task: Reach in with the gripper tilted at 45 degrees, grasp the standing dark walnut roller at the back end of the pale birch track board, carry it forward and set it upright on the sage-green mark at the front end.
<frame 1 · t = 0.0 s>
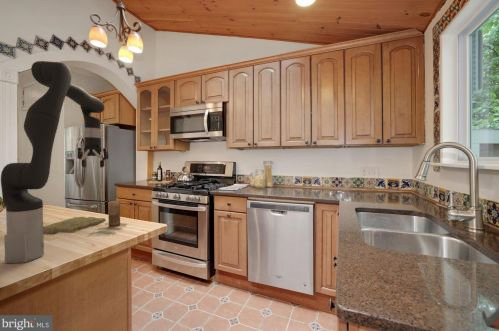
hand: (93, 167, 125), 29 cm above the countertop, tool pointing down, fingers open, 8 cm apart
decorative tile: (75, 228, 115), on the countertop
birch track board: (109, 231, 110), on the countertop
walnut roller: (114, 225, 116), point 1 cm above the countertop, touching birch track board
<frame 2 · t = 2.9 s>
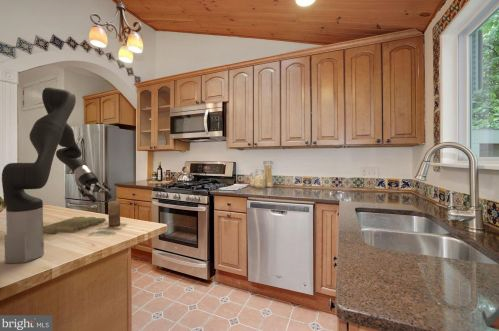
hand: (103, 200, 117), 13 cm above the countertop, tool tilted 45°, fingers open, 8 cm apart
nothing on the countertop moved.
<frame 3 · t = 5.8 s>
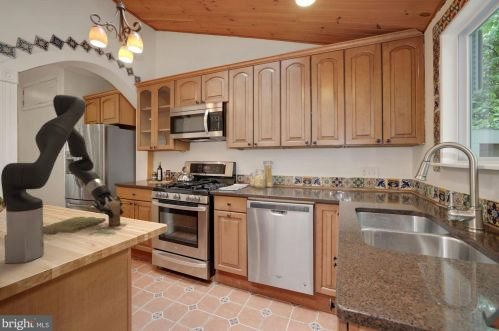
hand: (117, 215, 115), 6 cm above the countertop, tool tilted 45°, fingers closed on walnut roller, 5 cm apart
walnut roller: (114, 225, 116), point 1 cm above the countertop, touching birch track board, gripper
everything else where it was.
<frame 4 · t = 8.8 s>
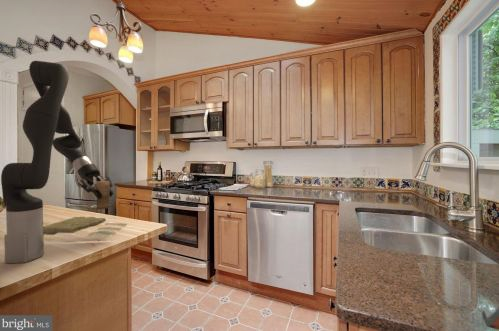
hand: (106, 196, 103), 18 cm above the countertop, tool tilted 45°, fingers closed on walnut roller, 5 cm apart
walnut roller: (103, 207, 104), point 12 cm above the countertop, touching gripper
everything else where it was.
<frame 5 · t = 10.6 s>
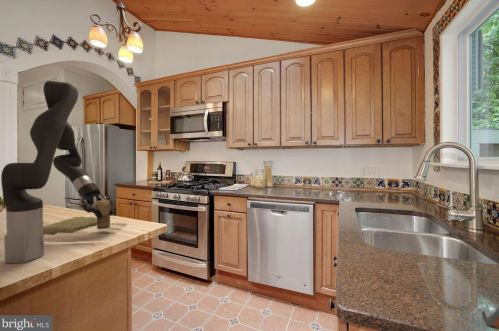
hand: (106, 215, 104), 9 cm above the countertop, tool tilted 45°, fingers closed on walnut roller, 5 cm apart
walnut roller: (103, 227, 105), point 4 cm above the countertop, touching gripper
everything else where it was.
when the fingers open (8 cm above the countertop, at t = 11.8 s): walnut roller drops 1 cm, resting on birch track board.
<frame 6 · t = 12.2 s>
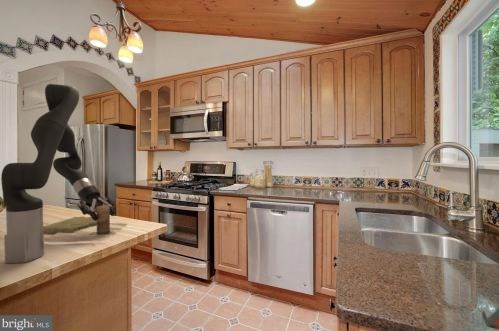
hand: (105, 217, 104), 8 cm above the countertop, tool tilted 45°, fingers open, 8 cm apart
walnut roller: (103, 232, 105), point 1 cm above the countertop, touching birch track board
everything else where it was.
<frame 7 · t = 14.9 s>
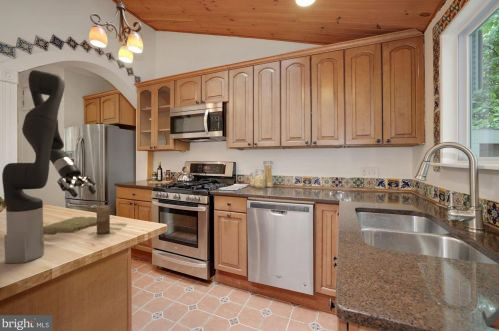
hand: (85, 194, 107), 18 cm above the countertop, tool tilted 45°, fingers open, 8 cm apart
nothing on the countertop moved.
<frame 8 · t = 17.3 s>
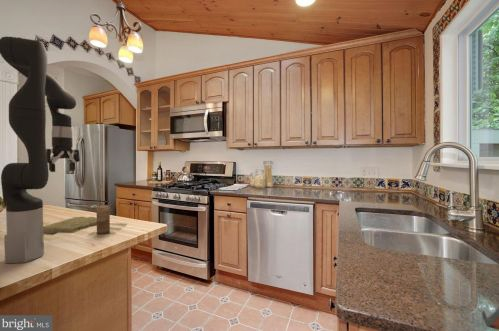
hand: (62, 171, 109), 28 cm above the countertop, tool pointing down, fingers open, 8 cm apart
nothing on the countertop moved.
at the end: walnut roller 0.1 cm from the target spot, point 1.0 cm above the countertop; walnut roller tilted 0°; the gripper is holding nothing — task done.
